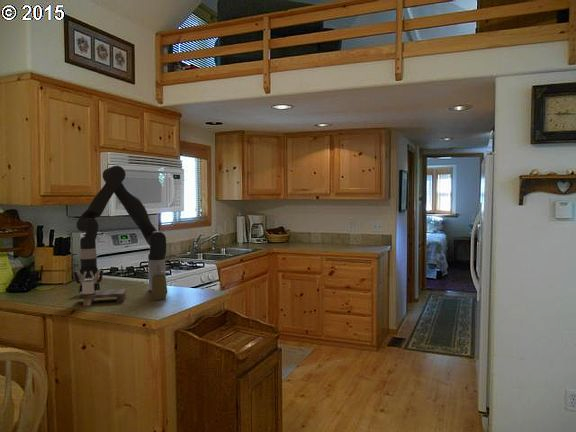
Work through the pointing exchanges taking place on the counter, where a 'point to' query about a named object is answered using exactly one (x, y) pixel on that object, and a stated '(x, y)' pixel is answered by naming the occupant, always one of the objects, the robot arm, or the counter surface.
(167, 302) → the counter surface
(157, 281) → the squeeze bottle
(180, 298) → the counter surface
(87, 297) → the subfloor plank
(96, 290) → the ammunition clip
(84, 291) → the stud finder
